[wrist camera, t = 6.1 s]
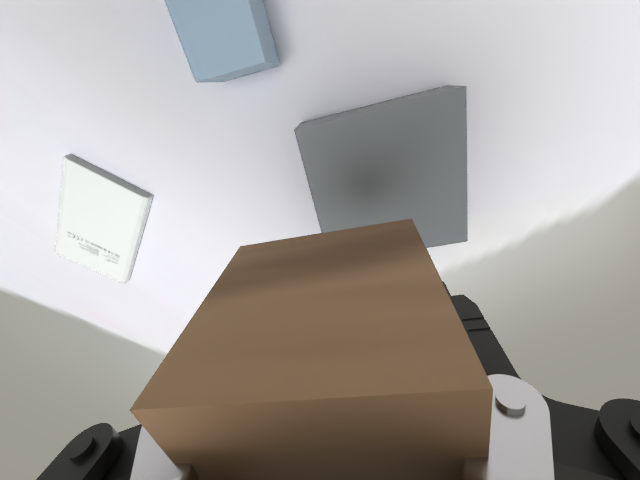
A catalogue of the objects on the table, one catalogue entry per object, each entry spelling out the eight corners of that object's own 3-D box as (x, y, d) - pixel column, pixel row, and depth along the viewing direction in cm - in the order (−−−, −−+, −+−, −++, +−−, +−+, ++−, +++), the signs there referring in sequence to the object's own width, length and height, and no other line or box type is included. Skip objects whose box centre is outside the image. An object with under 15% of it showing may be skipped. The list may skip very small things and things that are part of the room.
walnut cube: (240, 246, 10) (129, 410, 5) (411, 218, 9) (493, 388, 4) (285, 361, 13) (242, 547, 8) (423, 349, 12) (482, 556, 7)
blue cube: (197, 7, 22) (160, -11, 17) (259, -14, 21) (237, -39, 16) (222, 81, 24) (196, 82, 20) (280, 65, 23) (265, 61, 19)
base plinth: (301, 122, 25) (294, 129, 21) (447, 85, 23) (466, 86, 19) (331, 242, 30) (330, 263, 27) (452, 221, 28) (467, 241, 25)
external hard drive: (156, 193, 30) (132, 277, 35) (75, 152, 28) (63, 246, 34) (147, 199, 28) (123, 285, 34) (61, 155, 27) (51, 253, 33)
